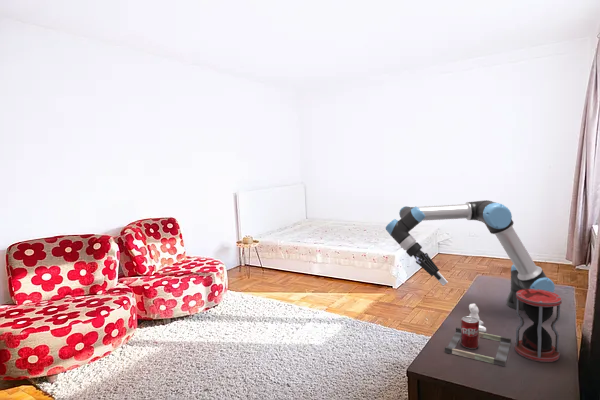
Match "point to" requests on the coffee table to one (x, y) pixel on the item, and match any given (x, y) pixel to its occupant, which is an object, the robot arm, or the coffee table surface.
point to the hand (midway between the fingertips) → (445, 283)
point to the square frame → (499, 359)
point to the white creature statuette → (476, 316)
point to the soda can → (469, 332)
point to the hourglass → (537, 325)
